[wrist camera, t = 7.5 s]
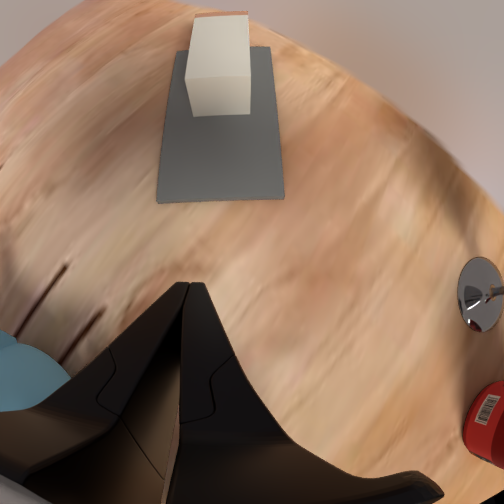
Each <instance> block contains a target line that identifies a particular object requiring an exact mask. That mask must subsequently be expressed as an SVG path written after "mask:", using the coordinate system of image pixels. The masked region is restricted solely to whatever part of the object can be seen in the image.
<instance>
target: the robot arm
mask: <svg viewBox="0 0 504 504" xmlns="http://www.w3.org/2000/svg"><path fill="white" fill-rule="evenodd" d="M108 347H109V348H108ZM108 347H106V348H105V349H104V350H103V351H102V352H101V353H100V354H99V355H98V356H97V357H96V358H95V359H94V360H92V361H91V362H90V363H89V364H88V365H87V366H86V367H85V368H83V369H82V370H81V371H80V372H78V373H77V374H76V375H75V376H74V377H72V378H71V379H70V380H68V381H67V382H66V383H65V384H63V385H62V386H61V387H60V388H58V389H57V390H56V391H54V392H53V393H52V394H51V395H49V396H48V397H47V398H46V399H44V400H43V401H41V402H40V403H38V404H37V405H35V406H33V407H30V408H27V409H22V410H14V411H3V412H0V504H161V499H162V493H163V487H164V480H165V474H166V468H167V463H168V457H169V452H170V446H171V441H172V435H173V430H174V425H175V419H176V414H177V409H178V404H179V424H180V433H179V446H178V451H177V455H176V459H175V464H174V468H173V473H172V477H171V481H170V486H169V490H168V495H167V500H166V504H433V503H435V502H436V501H438V500H440V499H441V498H443V497H444V495H445V494H444V492H443V491H442V489H441V488H440V487H439V486H438V485H437V484H436V483H435V482H434V481H433V480H431V479H430V478H428V477H427V476H425V475H424V474H422V473H421V472H419V471H405V472H401V473H396V474H393V475H389V476H385V477H380V478H362V477H357V476H353V475H351V474H349V473H346V472H344V471H343V470H341V469H339V468H337V467H335V466H334V465H332V464H330V463H328V462H326V461H325V460H323V459H321V458H320V457H318V456H316V455H314V454H313V453H311V452H309V451H308V450H306V449H305V448H303V447H301V446H300V445H298V444H297V443H296V442H294V441H293V440H292V439H291V438H290V437H289V436H288V435H287V434H286V432H285V431H284V430H283V429H282V428H281V426H280V425H279V424H278V422H277V421H276V420H275V418H274V417H273V415H272V414H271V413H270V411H269V410H268V409H267V407H266V406H265V404H264V403H263V402H262V400H261V399H260V397H259V396H258V394H257V393H256V391H255V390H254V388H253V387H252V385H251V384H250V382H249V380H248V379H247V377H246V375H245V373H244V371H243V369H242V367H241V365H240V363H239V361H238V359H237V357H236V356H235V353H234V350H233V348H232V346H231V344H230V341H229V339H228V337H227V335H226V332H225V330H224V328H223V326H222V323H221V321H220V319H219V316H218V314H217V312H216V309H215V307H214V305H213V302H212V300H211V298H210V295H209V293H208V290H207V288H206V286H205V284H204V283H203V282H192V283H189V282H176V283H175V284H174V285H172V286H171V287H170V288H169V289H168V290H167V291H166V292H165V293H164V294H163V295H162V296H160V297H159V298H158V299H157V300H156V301H155V302H154V303H153V304H152V305H151V306H150V307H149V308H148V309H147V310H145V311H144V312H143V313H142V314H141V315H140V316H139V317H138V318H137V319H136V320H135V321H134V322H133V323H132V324H131V325H129V326H128V327H127V328H126V329H125V330H124V331H123V332H122V333H121V334H120V335H119V336H118V337H117V338H116V339H115V340H114V341H113V342H112V343H111V344H110V345H109V346H108ZM480 504H504V490H502V491H501V492H499V493H497V494H496V495H494V496H492V497H491V498H489V499H487V500H485V501H484V502H482V503H480Z"/></svg>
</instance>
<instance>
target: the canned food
mask: <svg viewBox="0 0 504 504" xmlns="http://www.w3.org/2000/svg"><path fill="white" fill-rule="evenodd" d="M463 440H464V444H465V446H466V448H467V449H468V450H469V452H470V453H471V454H473V455H474V456H476V457H478V458H480V459H482V460H484V461H487V462H489V463H491V464H493V465H495V466H497V467H499V468H502V469H504V381H498V382H495V383H492V384H490V385H488V386H487V387H486V388H484V389H483V390H482V391H481V392H480V394H479V395H478V396H477V398H476V399H475V400H474V402H473V404H472V406H471V407H470V410H469V412H468V414H467V417H466V420H465V424H464V430H463Z"/></svg>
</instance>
